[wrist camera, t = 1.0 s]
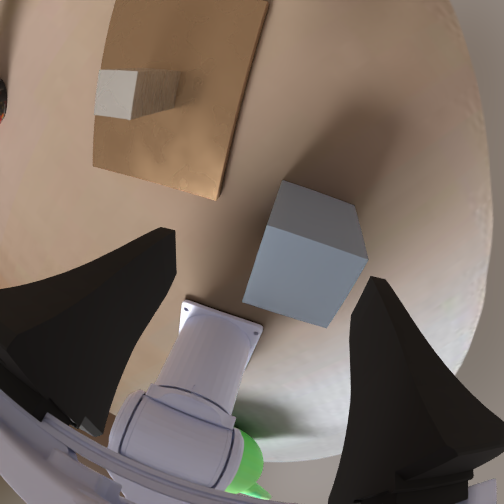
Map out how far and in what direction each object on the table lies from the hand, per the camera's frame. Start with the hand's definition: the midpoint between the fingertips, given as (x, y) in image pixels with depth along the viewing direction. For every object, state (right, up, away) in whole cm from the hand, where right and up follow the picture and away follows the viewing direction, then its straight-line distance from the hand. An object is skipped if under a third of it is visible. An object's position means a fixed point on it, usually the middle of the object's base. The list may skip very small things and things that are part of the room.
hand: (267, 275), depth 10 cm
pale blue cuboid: (+3, +3, +10) cm, 11 cm away
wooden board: (-6, +12, +6) cm, 15 cm away
